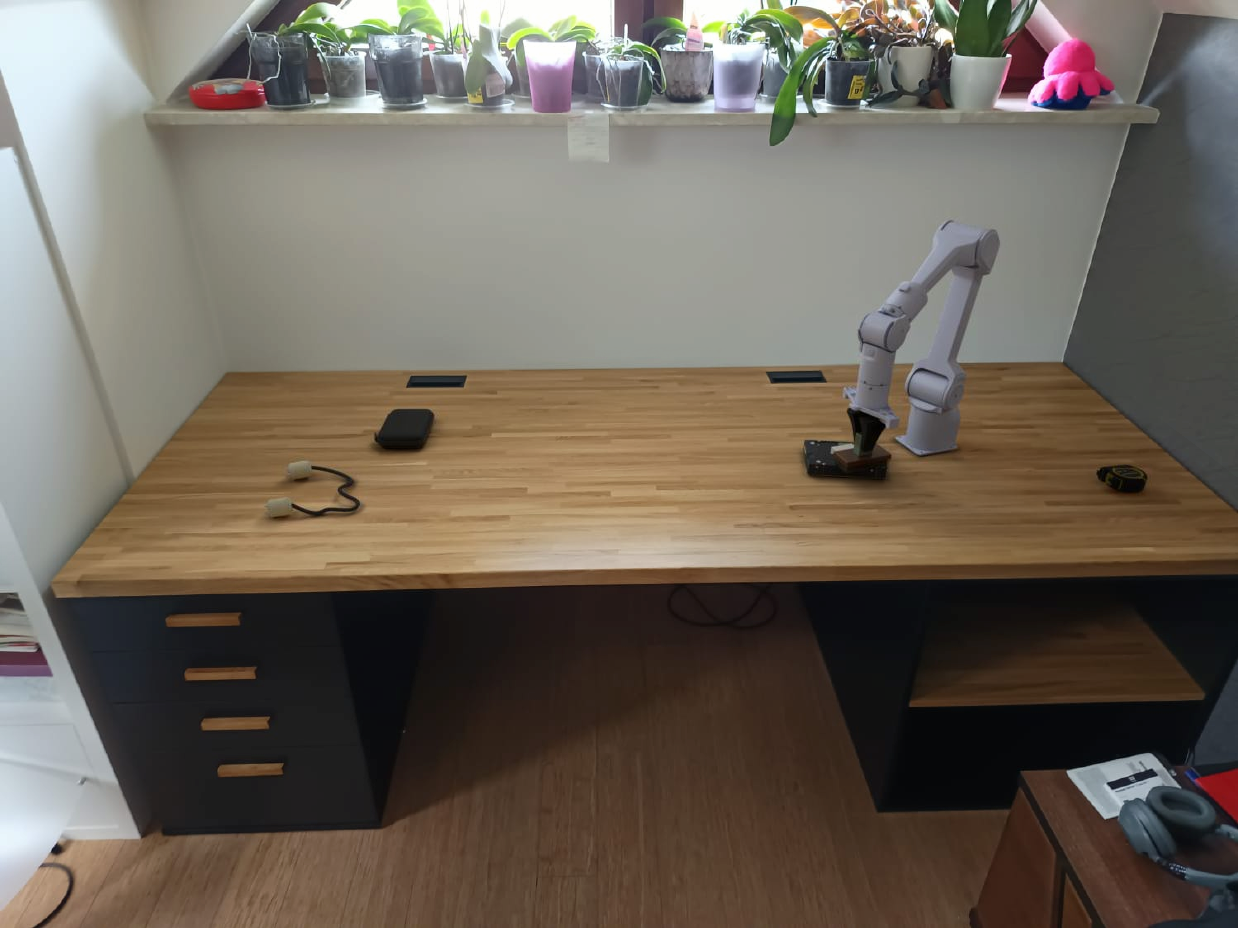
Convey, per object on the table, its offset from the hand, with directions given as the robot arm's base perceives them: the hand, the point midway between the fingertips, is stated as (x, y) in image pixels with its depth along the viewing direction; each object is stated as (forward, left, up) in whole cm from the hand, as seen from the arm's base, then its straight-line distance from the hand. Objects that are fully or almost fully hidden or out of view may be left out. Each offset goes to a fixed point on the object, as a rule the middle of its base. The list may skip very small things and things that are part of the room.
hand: (863, 447), depth 161 cm
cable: (+96, -27, -7) cm, 100 cm away
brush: (0, 0, -4) cm, 4 cm away
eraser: (0, -5, -4) cm, 6 cm away
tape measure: (-44, +19, -7) cm, 48 cm away
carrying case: (+78, -46, -7) cm, 91 cm away
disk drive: (0, -5, -7) cm, 8 cm away
